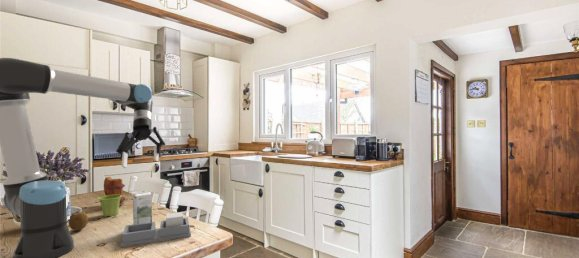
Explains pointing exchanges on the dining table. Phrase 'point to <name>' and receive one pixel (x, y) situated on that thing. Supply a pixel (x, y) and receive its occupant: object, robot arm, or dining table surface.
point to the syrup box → (142, 208)
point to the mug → (114, 188)
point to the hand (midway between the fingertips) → (140, 163)
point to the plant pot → (110, 204)
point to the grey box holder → (156, 231)
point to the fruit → (78, 221)
